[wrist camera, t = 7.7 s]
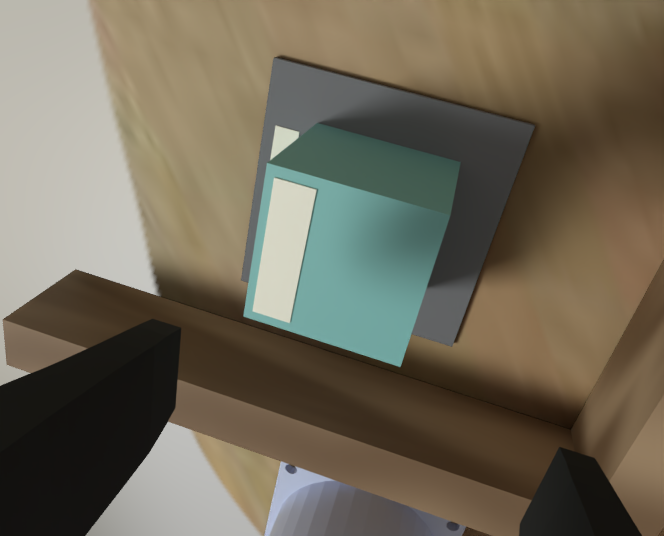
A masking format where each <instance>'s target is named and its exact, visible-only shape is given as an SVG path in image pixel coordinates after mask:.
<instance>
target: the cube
mask: <svg viewBox="0 0 664 536" xmlns="http://www.w3.org/2000/svg"><path fill="white" fill-rule="evenodd" d="M460 163H461V162H458V161H455V160H451V159H447V158H444V157H440V156H436V155H433V154H429V153H425V152H422V151H418V150H414V149H411V148H407V147H403V146H400V145H396V144H392V143H389V142H385V141H382V140H378V139H374V138H371V137H367V136H363V135H360V134H356V133H352V132H349V131H345V130H341V129H338V128H334V127H330V126H327V125H323V124H319V123H316V124H315V125H314V126H313V127H311V128H310V129H309V130H308V131H306V132H305V133H304V134H303V135H301V136H300V137H299V138H298V139H296V140H295V141H294V142H293V143H291V144H290V145H289V146H288V147H286V148H285V149H284V150H283V151H281V152H280V153H279V154H278V155H276V156H275V157H274V158H273V159H271V160H270V161H269V162H267V166H266V173H265V179H264V186H263V192H262V199H261V205H260V212H259V218H258V225H257V231H256V238H255V244H254V251H253V257H252V263H251V270H250V276H249V283H248V289H247V296H246V302H245V309H244V315H243V316H244V317H247V318H250V319H253V320H256V321H259V322H262V323H265V324H268V325H271V326H275V327H278V328H281V329H284V330H287V331H290V332H293V333H296V334H299V335H302V336H306V337H309V338H312V339H315V340H318V341H321V342H324V343H327V344H330V345H333V346H337V347H340V348H343V349H346V350H349V351H352V352H355V353H358V354H361V355H364V356H368V357H371V358H374V359H377V360H380V361H383V362H386V363H389V364H392V365H395V366H399V367H401V364H402V361H403V358H404V355H405V352H406V349H407V346H408V343H409V340H410V337H411V333H412V330H413V327H414V324H415V321H416V318H417V315H418V312H419V309H420V306H421V303H422V300H423V297H424V294H425V291H426V288H427V285H428V282H429V279H430V276H431V273H432V270H433V267H434V264H435V261H436V258H437V255H438V252H439V248H440V245H441V242H442V239H443V236H444V233H445V230H446V227H447V224H448V221H449V218H450V215H451V210H452V205H453V199H454V194H455V189H456V184H457V179H458V173H459V168H460Z"/></svg>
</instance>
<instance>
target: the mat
mask: <svg viewBox="0 0 664 536" xmlns="http://www.w3.org/2000/svg"><path fill="white" fill-rule="evenodd" d="M316 123H319V124H323V125H327V126H330V127H334V128H338V129H341V130H345V131H349V132H352V133H356V134H360V135H363V136H367V137H371V138H374V139H378V140H382V141H385V142H389V143H392V144H396V145H400V146H403V147H407V148H411V149H414V150H418V151H422V152H425V153H429V154H433V155H436V156H440V157H444V158H447V159H451V160H455V161H458V162H461V163H460V168H459V173H458V179H457V184H456V189H455V194H454V199H453V205H452V210H451V215H450V218H449V221H448V224H447V227H446V230H445V233H444V236H443V239H442V242H441V245H440V248H439V252H438V255H437V258H436V261H435V264H434V267H433V270H432V273H431V276H430V279H429V282H428V285H427V288H426V291H425V294H424V297H423V300H422V303H421V306H420V309H419V312H418V315H417V318H416V321H415V324H414V327H413V330H412V333H411V334H413V335H416V336H420V337H423V338H426V339H429V340H432V341H436V342H439V343H442V344H445V345H448V346H451V347H452V346H453V343H454V340H455V338H456V335H457V332H458V330H459V327H460V324H461V322H462V319H463V316H464V314H465V311H466V308H467V306H468V303H469V300H470V298H471V295H472V292H473V290H474V287H475V284H476V282H477V279H478V276H479V274H480V271H481V268H482V266H483V263H484V260H485V258H486V255H487V252H488V250H489V247H490V244H491V242H492V239H493V236H494V234H495V231H496V228H497V226H498V223H499V220H500V218H501V215H502V213H503V210H504V207H505V205H506V202H507V199H508V197H509V194H510V191H511V189H512V186H513V183H514V181H515V178H516V175H517V173H518V170H519V167H520V165H521V162H522V159H523V157H524V154H525V151H526V149H527V146H528V143H529V141H530V138H531V135H532V133H533V130H534V127H535V125H534V124H531V123H527V122H523V121H519V120H515V119H511V118H508V117H504V116H500V115H496V114H492V113H488V112H485V111H481V110H477V109H473V108H469V107H465V106H462V105H458V104H454V103H450V102H446V101H442V100H439V99H435V98H431V97H427V96H423V95H419V94H416V93H412V92H408V91H404V90H400V89H396V88H393V87H389V86H385V85H381V84H377V83H373V82H370V81H366V80H362V79H358V78H354V77H351V76H347V75H343V74H339V73H335V72H331V71H328V70H324V69H320V68H316V67H312V66H308V65H305V64H301V63H297V62H293V61H289V60H285V59H282V58H278V57H274V59H273V66H272V73H271V79H270V86H269V93H268V100H267V107H266V114H265V120H264V127H263V134H262V141H261V148H260V155H259V161H258V168H257V175H256V182H255V189H254V196H253V202H252V209H251V216H250V223H249V230H248V237H247V243H246V250H245V257H244V264H243V271H242V278H241V280H242V281H245V282H248V283H249V276H250V270H251V263H252V257H253V251H254V244H255V238H256V231H257V225H258V218H259V212H260V205H261V199H262V192H263V186H264V179H265V173H266V166H267V162H269V161H270V160H271V159H273V158H274V157H275V156H276V155H278V154H279V153H280V152H281V151H283V150H284V149H285V148H286V147H288V146H289V145H290V144H291V143H293V142H294V141H295V140H296V139H298V138H299V137H300V136H301V135H303V134H304V133H305V132H306V131H308V130H309V129H310V128H311V127H313V126H314V125H315V124H316Z"/></svg>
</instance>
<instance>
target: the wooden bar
mask: <svg viewBox="0 0 664 536" xmlns="http://www.w3.org/2000/svg"><path fill="white" fill-rule="evenodd" d="M151 319H156V320H159V321H162V322H165V323H168V324H171V325H175V326H178V327H181V341H180V354H179V368H178V381H177V394H176V408H175V410H174V412H173V413H172V415H171V417H170V418H169V420H168V422H171V423H174V424H177V425H180V426H183V427H185V428H188V429H191V430H194V431H197V432H199V433H202V434H205V435H208V436H211V437H214V438H216V439H219V440H222V441H225V442H228V443H231V444H233V445H236V446H239V447H242V448H245V449H248V450H250V451H253V452H256V453H259V454H262V455H265V456H267V457H270V458H273V459H276V460H279V461H282V462H284V463H287V464H290V465H293V466H296V467H299V468H301V469H304V470H307V471H310V472H313V473H316V474H318V475H321V476H324V477H327V478H330V479H333V480H335V481H338V482H341V483H344V484H347V485H350V486H353V487H355V488H358V489H361V490H364V491H367V492H370V493H372V494H375V495H378V496H381V497H384V498H387V499H389V500H392V501H395V502H398V503H401V504H404V505H406V506H409V507H412V508H415V509H418V510H421V511H423V512H426V513H429V514H432V515H435V516H438V517H440V518H443V519H446V520H449V521H452V522H455V523H457V524H460V525H463V526H466V527H469V528H472V529H474V530H477V531H480V532H483V533H486V534H489V535H491V536H519V528H520V522H521V520H522V518H523V516H524V514H525V512H526V510H527V509H528V507H529V505H530V503H531V501H532V499H533V497H534V495H535V493H536V491H537V489H538V487H539V485H540V483H541V481H542V479H543V477H544V476H545V474H546V472H547V470H548V468H549V466H550V464H551V462H552V460H553V458H554V456H555V454H556V452H557V450H558V448H559V447H562V448H565V449H568V450H571V451H574V446H573V440H572V434H571V430H570V429H567V428H564V427H561V426H557V425H554V424H551V423H548V422H545V421H542V420H539V419H536V418H533V417H530V416H527V415H524V414H520V413H517V412H514V411H511V410H508V409H505V408H502V407H499V406H496V405H493V404H490V403H487V402H483V401H480V400H477V399H474V398H471V397H468V396H465V395H462V394H459V393H456V392H453V391H449V390H446V389H443V388H440V387H437V386H434V385H431V384H428V383H425V382H422V381H419V380H416V379H412V378H409V377H406V376H403V375H400V374H397V373H394V372H391V371H388V370H385V369H382V368H379V367H375V366H372V365H369V364H366V363H363V362H360V361H357V360H354V359H351V358H348V357H345V356H342V355H338V354H335V353H332V352H329V351H326V350H323V349H320V348H317V347H314V346H311V345H308V344H304V343H301V342H298V341H295V340H292V339H289V338H286V337H283V336H280V335H277V334H274V333H271V332H267V331H264V330H261V329H258V328H255V327H252V326H249V325H246V324H243V323H240V322H237V321H234V320H230V319H227V318H224V317H221V316H218V315H215V314H212V313H209V312H206V311H203V310H200V309H197V308H193V307H190V306H187V305H184V304H181V303H178V302H175V301H172V300H169V299H166V298H163V297H159V296H156V295H153V294H150V293H147V292H144V291H141V290H138V289H135V288H131V287H129V286H125V285H122V284H119V283H116V282H113V281H110V280H107V279H104V278H101V277H98V276H95V275H92V274H89V273H85V272H82V271H79V270H74V271H73V272H71V273H70V274H68V275H67V276H65V277H64V278H63V279H61V280H60V281H58V282H57V283H56V284H54V285H52V286H51V287H49V288H48V289H46V290H45V291H43V292H42V293H41V294H39V295H38V296H36V297H35V298H33V299H32V300H30V301H29V302H27V303H26V304H25V305H23V306H22V307H20V308H19V309H17V310H16V311H14V312H13V313H11V314H10V315H9V316H7V317H6V318H4V319H3V327H4V339H5V350H6V361H7V365H9V366H13V367H15V368H18V369H21V370H24V371H26V372H29V373H33V372H35V371H38V370H40V369H43V368H45V367H48V366H50V365H52V364H55V363H57V362H59V361H61V360H64V359H66V358H68V357H70V356H72V355H75V354H77V353H79V352H81V351H83V350H86V349H88V348H90V347H92V346H94V345H96V344H99V343H101V342H103V341H105V340H107V339H109V338H111V337H113V336H115V335H118V334H120V333H122V332H124V331H126V330H128V329H130V328H132V327H135V326H137V325H139V324H141V323H143V322H146V321H148V320H151Z"/></svg>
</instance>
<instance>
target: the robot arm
mask: <svg viewBox="0 0 664 536" xmlns="http://www.w3.org/2000/svg"><path fill="white" fill-rule="evenodd" d="M180 341H181V327H178V326H175V325H171V324H168V323H165V322H162V321H159V320H156V319H151V320H148V321H146V322H143V323H141V324H139V325H137V326H135V327H132V328H130V329H128V330H126V331H124V332H122V333H120V334H118V335H115V336H113V337H111V338H109V339H107V340H105V341H103V342H101V343H99V344H96V345H94V346H92V347H90V348H88V349H86V350H83V351H81V352H79V353H77V354H75V355H72V356H70V357H68V358H66V359H64V360H61V361H59V362H57V363H55V364H52V365H50V366H48V367H45V368H43V369H40V370H38V371H35V372H33V373H31V374H28V375H26V376H23V377H21V378H18V379H16V380H13V381H11V382H8V383H6V384H3V385H1V386H0V536H85V535H86V534H87V533H88V531H89V530H90V529H91V527H92V526H93V525H94V524H95V522H96V521H97V520H98V519H99V517H100V516H101V515H102V513H103V512H104V511H105V510H106V508H107V507H108V506H109V504H110V503H111V502H112V500H113V499H114V498H115V497H116V495H117V494H118V493H119V492H120V490H121V489H122V488H123V486H124V485H125V484H126V483H127V481H128V480H129V478H130V477H131V476H132V475H133V473H134V472H135V471H136V469H137V468H138V466H139V465H140V464H141V463H142V462H143V460H144V459H145V458H146V456H147V455H148V454H149V452H150V451H151V449H152V447H153V446H154V444H155V442H156V440H157V439H158V437H159V435H160V434H161V432H162V431H163V429H164V427H165V425H166V424H167V422H168V420H169V418H170V417H171V415H172V413H173V412H174V410H175V408H176V394H177V381H178V368H179V354H180ZM465 528H466V526H463V525H460V524H457V523H451V521H449V520H446V519H443V518H440V517H438V516H435V515H432V514H429V513H426V512H423V511H421V510H418V509H415V508H412V507H409V506H406V505H404V504H401V503H398V502H395V501H392V500H389V499H387V498H384V497H381V496H378V495H375V494H372V493H370V492H367V491H364V490H361V489H358V488H355V487H353V486H350V485H347V484H344V483H341V482H338V481H335V480H333V479H330V478H327V477H324V476H321V475H318V474H316V473H313V472H310V471H307V470H304V469H301V468H299V467H296V466H295V467H293V466H291V465H290V464H287V463H284V462H282V461H281V464H280V468H279V473H278V477H277V482H276V486H275V491H274V495H273V499H272V504H271V508H270V513H269V517H268V522H267V526H266V531H265V535H264V536H462V535H463V533H464V530H465ZM519 536H642V535H641V533H640V531H639V530H638V528H637V526H636V525H635V523H634V522H633V520H632V518H631V517H630V515H629V513H628V512H627V510H626V508H625V507H624V505H623V503H622V502H621V500H620V498H619V497H618V495H617V493H616V492H615V490H614V488H613V487H612V485H611V483H610V482H609V480H608V478H607V477H606V475H605V473H604V472H603V470H602V469H601V467H600V465H599V464H598V462H597V461H596V459H595V458H594V457H590V456H587V455H584V454H581V453H578V452H575V451H571V450H568V449H565V448H562V447H559V448H558V450H557V452H556V454H555V456H554V458H553V460H552V462H551V464H550V466H549V468H548V470H547V472H546V474H545V476H544V477H543V479H542V481H541V483H540V485H539V487H538V489H537V491H536V493H535V495H534V497H533V499H532V501H531V503H530V505H529V507H528V509H527V510H526V512H525V514H524V516H523V518H522V520H521V522H520V528H519Z"/></svg>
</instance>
